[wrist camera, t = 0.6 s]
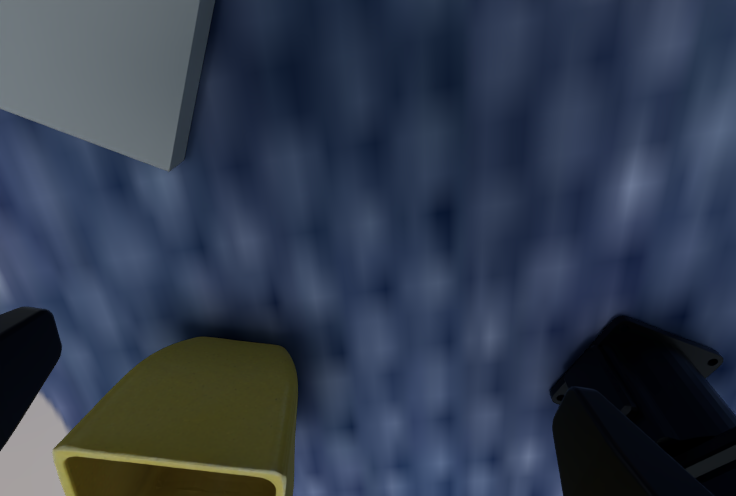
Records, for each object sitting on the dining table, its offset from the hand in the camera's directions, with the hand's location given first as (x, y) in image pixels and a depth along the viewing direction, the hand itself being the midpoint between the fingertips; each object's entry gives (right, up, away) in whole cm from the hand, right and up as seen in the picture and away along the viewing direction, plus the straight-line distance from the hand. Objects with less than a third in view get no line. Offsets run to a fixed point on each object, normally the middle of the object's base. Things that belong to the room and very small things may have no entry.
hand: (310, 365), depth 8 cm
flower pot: (-6, -5, +18) cm, 20 cm away
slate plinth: (-10, +11, +9) cm, 17 cm away
